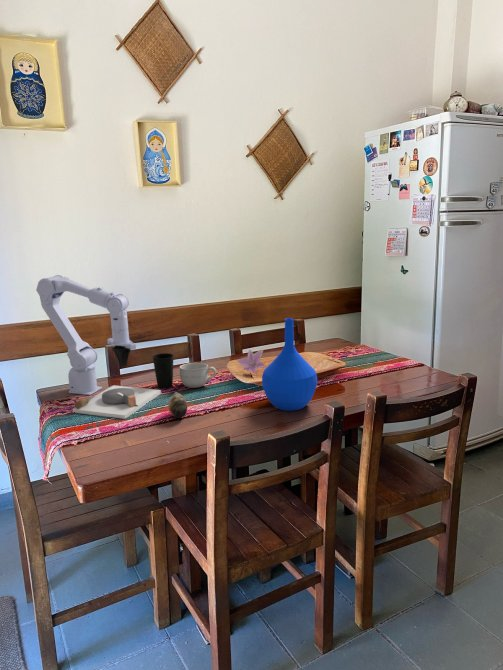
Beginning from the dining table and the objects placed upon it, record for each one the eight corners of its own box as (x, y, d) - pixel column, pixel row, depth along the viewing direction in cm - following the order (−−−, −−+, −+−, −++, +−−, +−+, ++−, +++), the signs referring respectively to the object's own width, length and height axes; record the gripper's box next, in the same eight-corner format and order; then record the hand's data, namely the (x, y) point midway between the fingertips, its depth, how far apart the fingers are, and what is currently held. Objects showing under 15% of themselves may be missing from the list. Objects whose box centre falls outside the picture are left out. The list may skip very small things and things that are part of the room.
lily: (236, 372, 213) (230, 356, 207) (260, 358, 216) (255, 342, 210) (251, 389, 204) (245, 372, 198) (275, 374, 207) (270, 357, 201)
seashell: (166, 413, 170) (164, 390, 168) (182, 410, 172) (181, 387, 170) (173, 424, 162) (172, 400, 160) (191, 420, 164) (190, 397, 162)
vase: (253, 401, 179) (251, 316, 172) (300, 392, 186) (300, 311, 179) (277, 420, 163) (275, 328, 155) (327, 410, 170) (328, 321, 162)
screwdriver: (81, 408, 172) (79, 401, 172) (76, 409, 173) (73, 402, 173) (97, 398, 180) (95, 392, 180) (92, 399, 181) (89, 393, 181)
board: (73, 412, 173) (72, 408, 173) (113, 388, 195) (113, 384, 195) (125, 418, 167) (124, 414, 166) (160, 393, 189) (160, 389, 188)
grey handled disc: (96, 398, 181) (95, 390, 180) (124, 390, 188) (123, 382, 187) (118, 410, 170) (118, 401, 169) (147, 401, 177) (147, 392, 176)
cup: (171, 390, 191) (169, 359, 188) (151, 389, 193) (149, 358, 190) (178, 383, 199) (176, 353, 196) (159, 382, 200) (157, 352, 197)
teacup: (175, 388, 193) (173, 368, 191) (189, 379, 203) (188, 359, 201) (208, 392, 188) (207, 371, 186) (221, 383, 198) (220, 363, 196)
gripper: (98, 328, 186) (102, 364, 189) (122, 334, 176) (126, 372, 180) (115, 325, 191) (118, 360, 194) (139, 330, 182) (142, 367, 185)
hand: (123, 365), depth 187 cm, fingers closed
